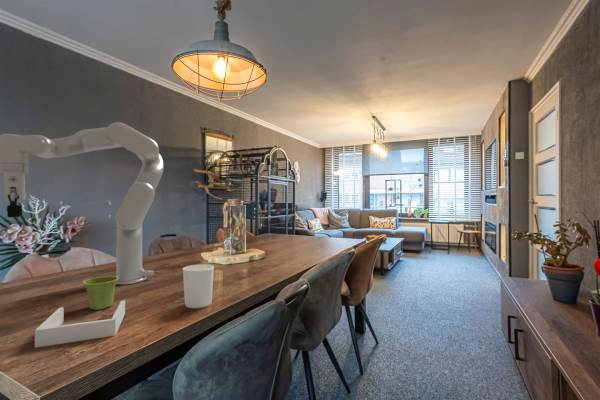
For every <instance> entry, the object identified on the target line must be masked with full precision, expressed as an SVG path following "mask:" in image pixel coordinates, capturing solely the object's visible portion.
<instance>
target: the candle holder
mask: <svg viewBox="0 0 600 400" xmlns="http://www.w3.org/2000/svg"><path fill="white" fill-rule="evenodd" d="M214 269H215V266H214V265H212V264H207V263H205V264H204V263H203V264H191V265H187V266H185V267H183V268H182V275H183V277H182V279H183V292H184V293H183V296H184V305H185V307H186V308H189V309H201V308H205V307H209V306H210V305H211V304H212V301H213V286H214V272H215V270H214Z"/></svg>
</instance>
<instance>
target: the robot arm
mask: <svg viewBox="0 0 600 400" xmlns="http://www.w3.org/2000/svg"><path fill="white" fill-rule="evenodd" d="M116 148H125V149H126V150H128V151H130V152H132V153H133V154H135V155H136V157H138V159H139V160H141V161H140V162H141V164H142V165H141V166H142V167H141V168H140V170H139V172H138V175H137V177H136V178H135V181H134V182H133V184H131V185H130V187H129V188H128V191H127V193H126V194H125V197H124V199H123V201H122V203H121V205H120V207H119V208H118V211H117V212H116V215H115V222H116V241H115V242H116V244H115V246H116V247H115V248H116V254H115V255H116V256H115V260H116V261H115V266H116V267H115V269H116V270H115V271H116V275H115V276H116V277H118V280H117V282H116V285H118V286H119V285H130V284H131V285H132V284H137V283H142V282H143V281H145V280H147V276H153V275H155V271H154V270H152V269H148V270H145V268H144V267H143V222H144V220H145V217H146V215H147V214H148V212H149V210H150V207H151V206H152V203H153V202H154V199H155V195H156V192H155V191H156V190H157V187H158V185H159V183H160V180H161V178H162V176H163V172H164V169H165V166H164V165H165V163H164V160H163V157H162V155H161V154H160V147H159V145H158V143H157V142H156V141H155V140H153V139H152V138H151V137H149V136H147V135H145V134H143V132H140V131H139V130H136V129H135V128H133V127H131V126H129V125H128V124H126V123H124V122H119V121H117V122H112V123H110V124H109V125H108V126H107V127H106V126H105V127H97V128H88V129H81V130H79V131H77V132H76V133H74V134H72V135H69V136H64V137H57V138H48V137H47V136H45V135H41V134H15V133H2V134H0V174H3V177H4V180H3V181H4V195H5V199H6V200H7V207H6V208H7V209H6V210H7V211H6V212H7V217H8V218H20V217H21V216H23V205H22V201H25V200H26V199H27V195H26V176H25V175H29V155H34V156H37V157H39V158H42V159H55V158H62V157H69V156H74V155H78V154H84V153H88V152H94V151H95V152H96V151H102V150H110V149H116Z"/></svg>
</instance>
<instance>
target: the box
mask: <svg viewBox="0 0 600 400" xmlns="http://www.w3.org/2000/svg"><path fill="white" fill-rule="evenodd" d="M64 312H65V309H64V307H59V308H57V309H56V310H55V311H54V312H53V313H52V314H51V315H50V316H49V317H48V318H46V319H45V321H43V322H42V323H41V324H40V325H38V327H37V328H36V329H35V330H34V348H42V347H48V346H49V347H50V346H54V345H55V346H56V345H61V344H69V343H74V342H81V341H87V340H96V339H102V338H108V337H113V336H114V337H115V336H116V335H117V332H118V330H119V328H120V326H121V323H122V322H123V319H124V317H125V314H126V300H125V299H124V300H120V302H119V304H118V306H117V308H116V310H115V311H114V313H113V315H112V317H111V318H107V319H102V320H99V319H98V320H93V321H86V322H77V323H70V324H69V323H68V324H63V323H64V322H65V320H64V319H65V317H64V314H65V313H64Z"/></svg>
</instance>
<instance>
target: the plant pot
mask: <svg viewBox="0 0 600 400" xmlns="http://www.w3.org/2000/svg"><path fill="white" fill-rule="evenodd" d="M117 280H118V277H116V275H115V276H113V275H108V276H107V275H105V276H97V277H93V278H92V277H91V278H89V279H85V280H83V282H82V284H83V285H84V288H85V289H86V294H87V300H88V306H89V310H94V311H99V310H105V309H107V307H109V308H110V307H112V305H113V304H114V296H115V289H116V285H117V284H116V282H117Z"/></svg>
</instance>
